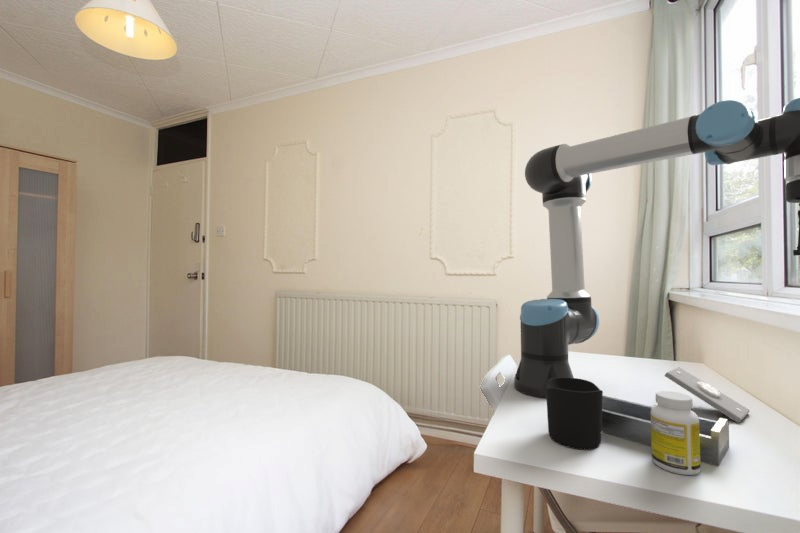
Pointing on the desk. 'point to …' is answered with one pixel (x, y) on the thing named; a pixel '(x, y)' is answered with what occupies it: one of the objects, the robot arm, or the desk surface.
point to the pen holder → (574, 412)
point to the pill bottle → (675, 434)
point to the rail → (636, 427)
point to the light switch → (708, 394)
